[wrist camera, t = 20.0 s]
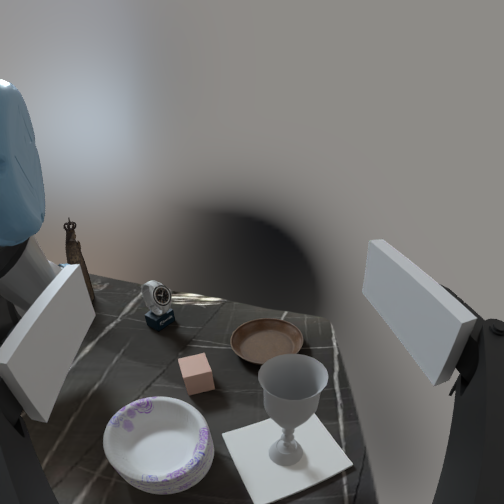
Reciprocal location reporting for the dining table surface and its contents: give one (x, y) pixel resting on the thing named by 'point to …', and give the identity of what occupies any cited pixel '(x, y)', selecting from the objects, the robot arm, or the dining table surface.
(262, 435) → the board
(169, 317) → the watch
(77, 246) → the statue
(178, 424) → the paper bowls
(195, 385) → the terracotta block
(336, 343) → the dining table surface
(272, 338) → the saucer
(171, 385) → the dining table surface
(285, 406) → the chalice
